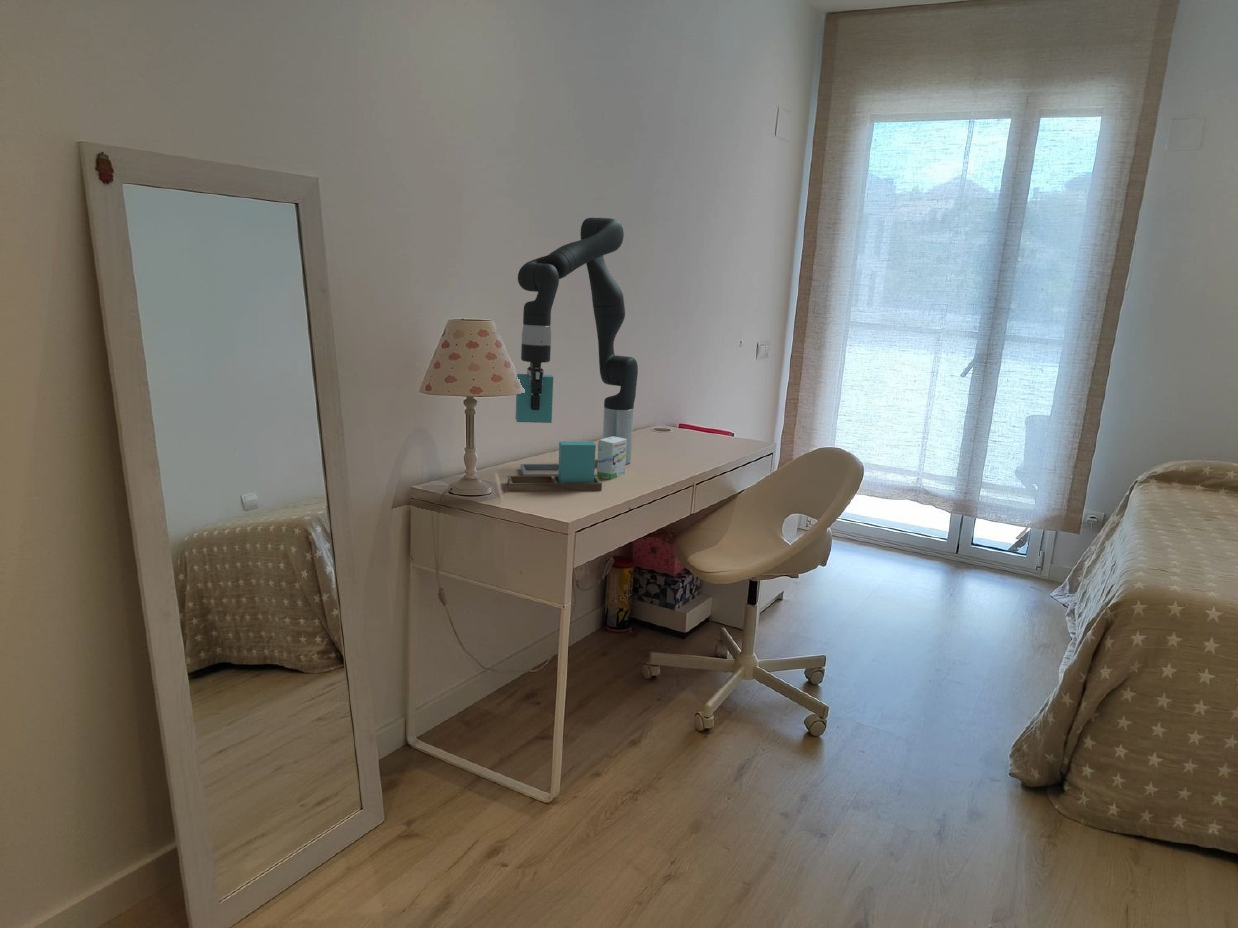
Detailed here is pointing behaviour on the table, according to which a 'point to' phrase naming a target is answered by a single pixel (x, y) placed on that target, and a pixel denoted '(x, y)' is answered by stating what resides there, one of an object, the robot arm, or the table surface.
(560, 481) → the block
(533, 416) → the block
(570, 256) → the robot arm
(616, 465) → the ink box
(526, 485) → the brown shallow tray
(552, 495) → the table surface
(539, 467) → the grey square tray
